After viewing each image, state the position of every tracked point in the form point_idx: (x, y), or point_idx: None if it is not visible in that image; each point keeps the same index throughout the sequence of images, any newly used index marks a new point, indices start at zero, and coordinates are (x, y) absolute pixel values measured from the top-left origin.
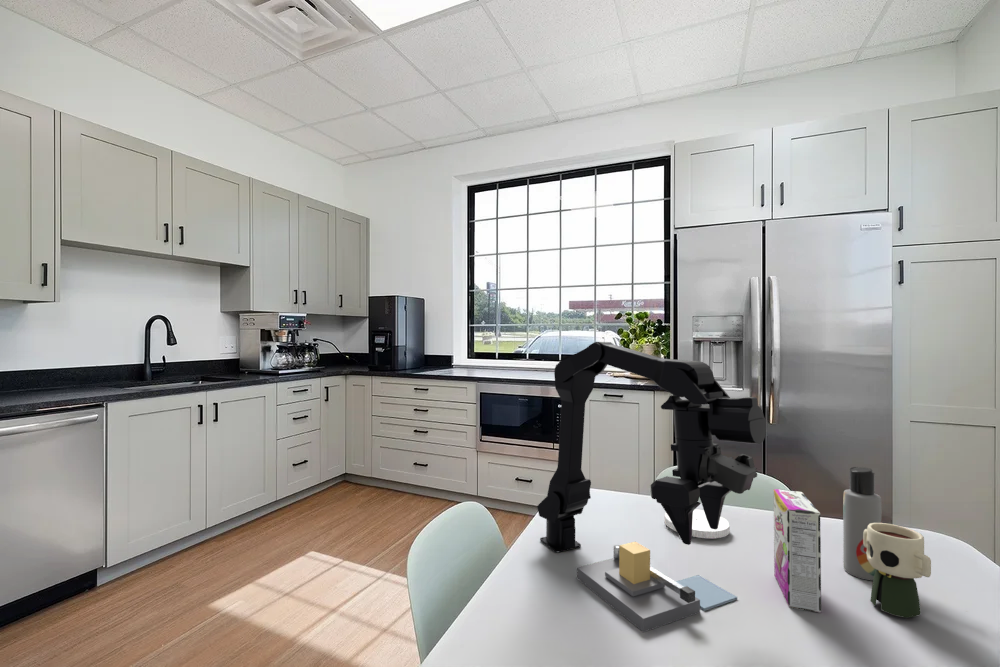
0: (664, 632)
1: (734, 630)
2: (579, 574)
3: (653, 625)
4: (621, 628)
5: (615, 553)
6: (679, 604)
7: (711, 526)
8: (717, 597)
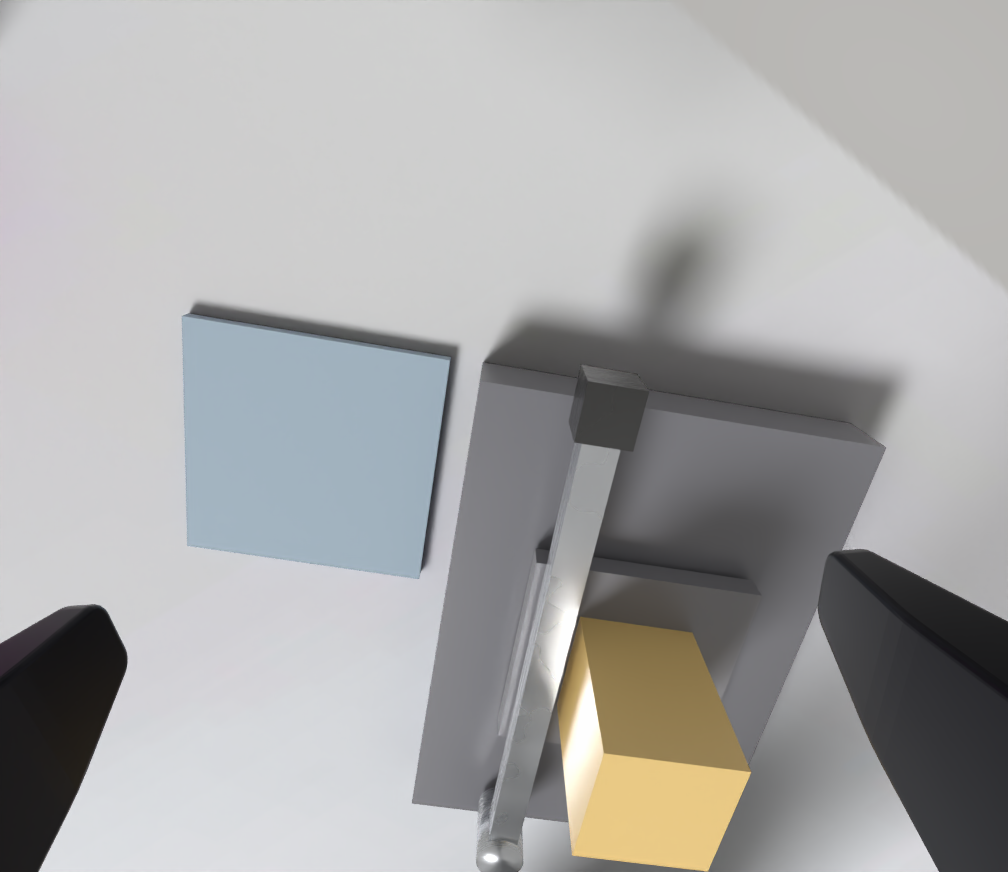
0: (777, 368)
1: (477, 168)
2: None
3: (797, 418)
4: (893, 491)
5: (521, 831)
6: None
7: (111, 668)
8: (291, 375)
